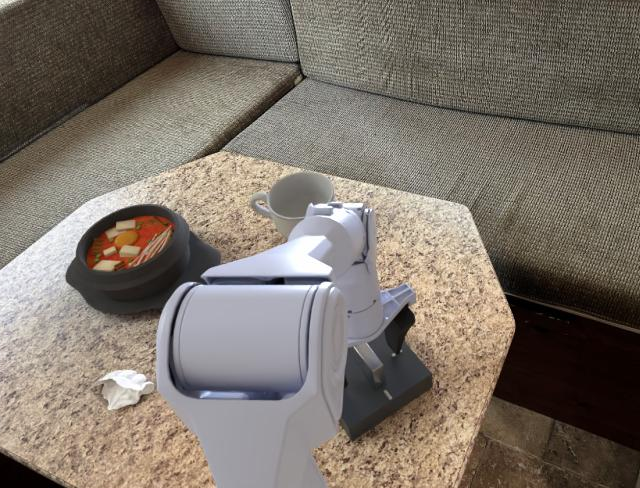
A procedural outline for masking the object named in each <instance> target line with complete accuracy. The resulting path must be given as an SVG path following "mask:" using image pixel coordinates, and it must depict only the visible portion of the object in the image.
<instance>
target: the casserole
mask: <svg viewBox="0 0 640 488" xmlns="http://www.w3.org/2000/svg"><path fill="white" fill-rule="evenodd" d="M221 262H222V255H221V253H220V251H219V250H218V249H217V248H215V247H213V246H211V245H210V244H208V243H206V242H204V241H203V240H202V239H201V238H200V237H199V236H198V235H197V234H196V233H195V232H194V231H192V230H191V229H190V225H189V223H188V221H187V220H186V218H184V217H183V215H181V214H179V213H177V212H175V211H173V210H172V209H171V208H168V207H167V206H164V205H161V204H156V203H139V204H133V205H129V206H125V207H123V208H120V209H117V210H115V211H113V212H110V213H109V214H107V215H105V216H103V217H101V218H100V219H99V220H97V221H96V222H95V223H93V224H92V225H91V226H90V227H89V228H88V229H87V230H86V231H85V232H84V233H83V235H82V236H81V237H80V239H79V241H78V243H77V244H76V249H75V256H74V257H73V259H72V260H71V262H70V264H69V266H68V267H67V269H66V271H65V275H64V277H65V282H66V283H67V284H68V285H69V286H70V287H71V288H72V289H74V290H75V291H77V292H78V293H79V294H80V296H81V297H82V298H83V300H84V301H85V303H86V304H87V305H88V306H89V307H91V308H92V309H94V310H95V311H98V312H101V313H103V314H109V315H130V314H134V313H135V314H136V313H139V312H145V311H150V310H155V309H156V310H157V309H164V307H165V305H166V303H167V302H168V300H169V299H170V298H171V296H172V295H173V293H174V292H175V291H176V289H177V288H178V287H179V286H181V285H182V284H184V283H187V282H197V283H202V284H203V285H208V284H207V282H206V281H205V280H204V279H203V278H201V275H202V274H204V273H205V272H206V271H207V270H208V269H210V268H212V267H216V266H219V265H221V264H222V263H221Z"/></svg>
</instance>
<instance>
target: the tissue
mask: <svg viewBox="0 0 640 488" xmlns="http://www.w3.org/2000/svg"><path fill="white" fill-rule="evenodd" d="M147 379H148V378H147V376H146V375H145V374H143V373H138V372H137V371H136V370H134V369H116V370H113V371H111V372H108V373H107V374H105V375H104V376H103V377H101V378H99V379H98V380H96V381H95V382H93V384H91V385H90V386H89V387H87V389H86V390H85V391H84V393H83V394H84V395H85V394H88V395H90V396H93V395H94V393H95V392H94V391H92V389H93V388H94V387H96V386H100V385H103V386H102V388H101V395H103V399H104V400H107V401H108V405H107V410H108V411H112V410H119V409H120V408H123V407H126V406H130V405H135V404H137V403H138V402H139V400H140V399H141V396H142V395H149V394H151V393H152V392H154V391H155V387H156V386H155V383H154V382H153V381H147Z"/></svg>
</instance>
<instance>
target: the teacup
mask: <svg viewBox="0 0 640 488" xmlns="http://www.w3.org/2000/svg"><path fill="white" fill-rule="evenodd" d="M258 201H262V202H264V203H265V204H266V206H267V208H266V207H263V206H262V205H260V204H259V203H258ZM330 202H337V200H336V195H335V187H334V184H333V182H332V180H331V179H330V178H328V176H327V175H324V174H322V173H320V172H317V171H312V170H311V171H310V170H303V171H302V170H301V171H295V172H292V173H289V174H286V175H284V176H281V178H280V179H278V180H276V181H275V182H274V183H273V184H272V185H271V187H270V189H269V190H268V191H267V193H266V192H262V191H257V192H254V193H252V195H251V196H250V198H249V206H250V209H251V210H252V211H253V212H254V213H256V214H258V215H259V216H261V217H264V218H266V219H270V220H271V221H272V222H273V224H274V227H275V228H276V230H277V232H278V233H279V234H280V235H281V236H282V237H283V238H284V239H287V240H288V238H289V235H290V233H291V232H292V230H293V228H294V227H295V226H296V225H297V224H298V223H299V222H301V221H302V220H303V219H305V217H306V212H307V209H308V206H309V204H310V203H312V205H313V206H314V205H318V204H328V203H330Z"/></svg>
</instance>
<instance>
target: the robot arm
mask: <svg viewBox="0 0 640 488" xmlns="http://www.w3.org/2000/svg"><path fill="white" fill-rule="evenodd" d="M377 224H378V223H377V217H376V212H375V209H374V208H373V207H371V208H368V206H367V204H366V203H364V202H363V203H361V202H360V203H358V202H356V203H355V202H354V203H343V202H342V201H336V202H330V203H328V204H318V205H314V206H313V205H312V203H310V204H309V206H308V209H307V212H306V217H305V219H303V220H302V221H301V222H299V223H298V224H297V225H296V226H295V227H294V228H293V230H292V232H291V233H290V235H289V238H288V239H287V241H286V242H284V243H282V244H279V245H277V246H274V247H272V248H269V249H267V250H265V251H262V252H259V253H257V254H253V255H250V256H246V257H243V258H240V259H235V260H233V261H229V262H226V263H224V264H220V265H219V266H216V267H212V268H210V269H208V270H207V271H206V272H205V273H204V274H202V275H201V278H203V279H204V280H205V281H206V282H207V284H208V285H203V284H202V283H197V282H187V283H184V284H182V285H181V286H179V287H178V288H177V289H176V291H175V292H174V293H173V295H172V296H171V298H170V299H169V300H168V302H167V303H166V305H165V307H164V308H162V311H161V314H160V317H159V321H158V325H157V330H156V337H155V350H156V351H155V354H156V359H155V362H156V363H155V381H156V392H157V393H158V394H159V395H160V396H161V398H162V399H163V400H164V401H165V402H166V404H167V406H169V407H170V409H171V410H172V411H173V412H174V413H175V415H176V416H177V417H178V418H179V419H180V421H181V422H182V423H183V424H184V426H185V427H186V428H187V429H188V431H190V433H191V434H193V435H194V436H196V437H197V439H198V441H199V444H200V446H201V449H202V452H203V455H204V457H205V460H206V462H207V465H208V468H209V471H210V473H211V476H212V478H213V481H214V483H215V486H216V488H330V487H329V484H328V482H327V480H326V478H325V476H324V474H323V473H322V470H321V468H320V467H319V464H318V463H317V460H316V459H315V457H314V454H313V453H312V451H314V450H315V449H317V448H318V447H320V446H322V445H323V444H325V443H327V442H328V441H330V440H331V439H333V438H334V437H336V436H337V435H338V431H339V421H338V420H339V419H340V418H341V414H342V406H343V390H344V388H345V387H347V386H348V382H347V379H346V376H345V366H346V359H347V350H348V348H349V347H352V346H356V345H360V344H364V343H367V342H370V341H372V340H374V339H375V338H377V337H378V336H379V335H380V334H381V333H382V332H383V330H384V332H385V339H386V342H387V345H388V346H389V347H390V348H391V350H392V351H393V352H394V353H395V354H396V355H397V354H399V353H400V351H401V348H402V344H403V341H405V339H406V336H407V334H408V332H409V331H410V329H411V328H412V327H413V326H414V325H415V324H416V314H415V312H413V311H412V309H411V308H410V307H412V306H414V305H415V304H417V292H416V291H415V290H414V289H413V287H411V286H410V285H409V283H407V282H404V283H402V284H400V285H398V286H396V287H395V286H394V287H391V288H387V289H384V290H381V288H380V282H379V281H380V280H379V275H378V269H377V257H378V243H377V242H378V225H377Z"/></svg>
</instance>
